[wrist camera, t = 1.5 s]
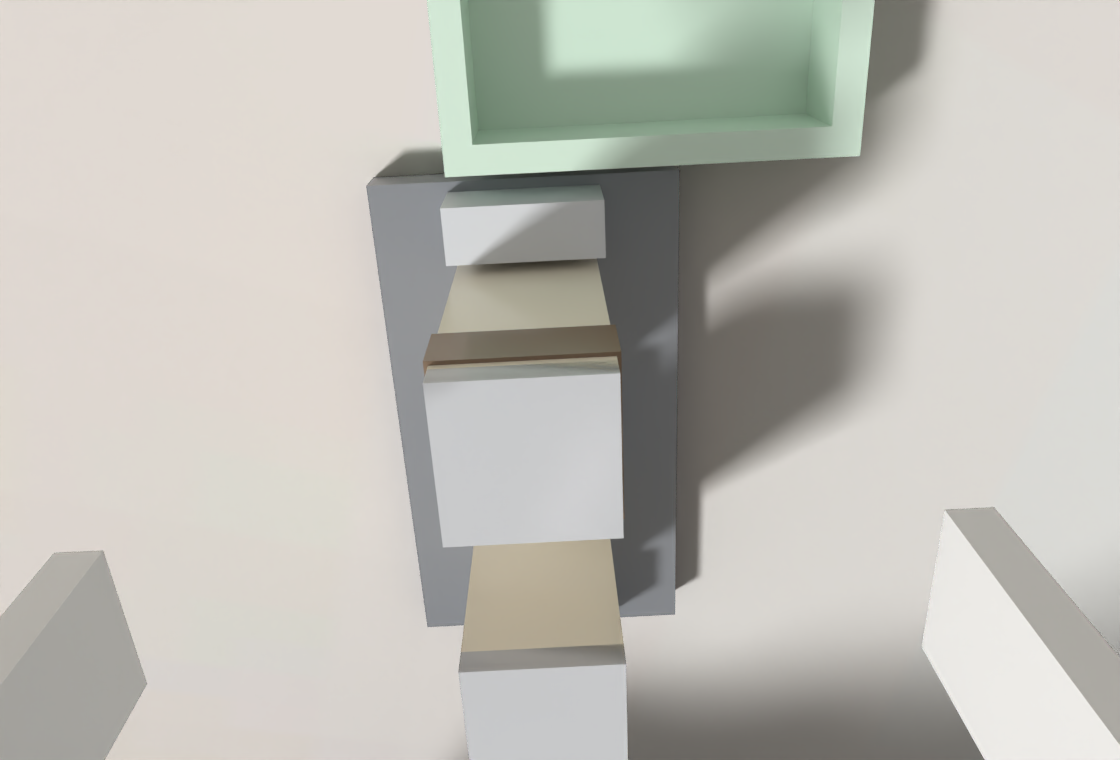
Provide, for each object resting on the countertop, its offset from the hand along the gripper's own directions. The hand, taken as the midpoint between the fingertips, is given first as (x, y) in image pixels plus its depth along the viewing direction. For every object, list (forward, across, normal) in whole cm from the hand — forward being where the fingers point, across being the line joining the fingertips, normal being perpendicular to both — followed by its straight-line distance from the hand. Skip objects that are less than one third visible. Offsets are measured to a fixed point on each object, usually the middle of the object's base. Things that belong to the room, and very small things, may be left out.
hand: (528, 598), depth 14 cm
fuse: (+14, 0, +8) cm, 16 cm away
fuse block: (+15, 0, +4) cm, 16 cm away
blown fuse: (+14, 0, 0) cm, 14 cm away
